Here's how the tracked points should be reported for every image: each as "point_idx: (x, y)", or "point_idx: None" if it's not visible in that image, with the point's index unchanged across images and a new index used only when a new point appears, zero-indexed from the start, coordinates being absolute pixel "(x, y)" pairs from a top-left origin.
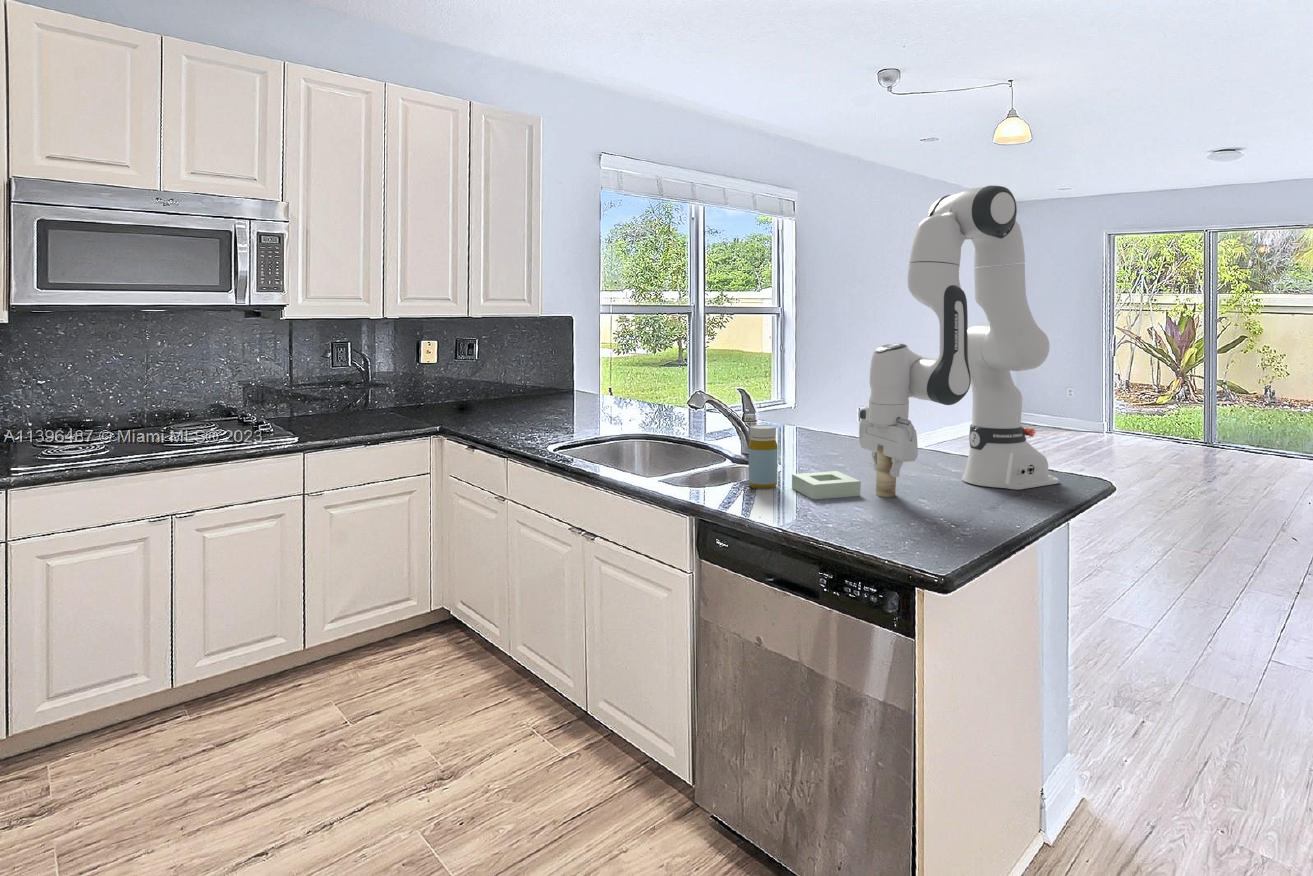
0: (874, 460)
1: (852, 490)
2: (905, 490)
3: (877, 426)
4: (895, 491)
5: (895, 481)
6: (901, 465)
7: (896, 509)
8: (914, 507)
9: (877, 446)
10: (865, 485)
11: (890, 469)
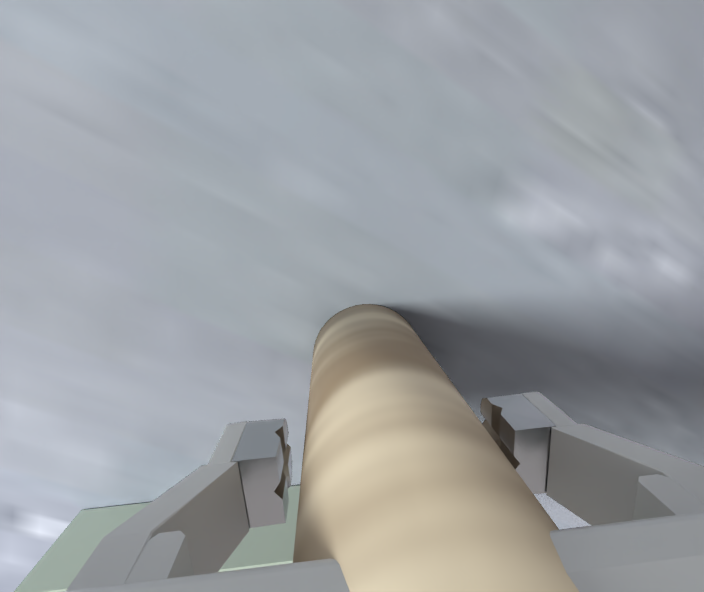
0: (221, 563)
1: None
2: (282, 188)
3: None
4: (401, 320)
5: (429, 352)
6: (649, 449)
7: (633, 419)
8: (639, 326)
9: None
10: (110, 369)
11: (531, 490)
